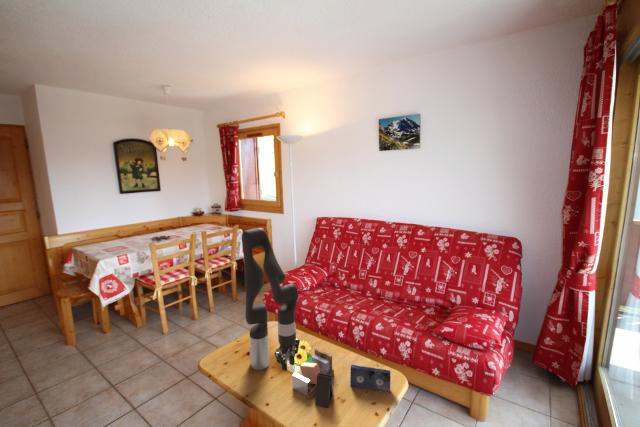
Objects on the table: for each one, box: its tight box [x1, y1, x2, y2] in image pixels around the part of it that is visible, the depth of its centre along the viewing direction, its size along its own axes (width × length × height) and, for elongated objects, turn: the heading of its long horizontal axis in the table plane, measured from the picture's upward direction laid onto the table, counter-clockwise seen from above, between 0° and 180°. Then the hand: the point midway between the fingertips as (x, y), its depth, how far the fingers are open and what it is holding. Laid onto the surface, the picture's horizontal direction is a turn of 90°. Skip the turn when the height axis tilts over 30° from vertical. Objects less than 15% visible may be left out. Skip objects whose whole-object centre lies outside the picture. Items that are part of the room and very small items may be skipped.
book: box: [299, 361, 320, 385], centre depth 145 cm, size 4×9×8 cm, turn 53°
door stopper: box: [314, 373, 334, 408], centre depth 135 cm, size 9×6×12 cm, turn 163°
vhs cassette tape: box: [349, 364, 391, 393], centre depth 141 cm, size 18×3×10 cm, turn 74°
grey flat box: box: [292, 372, 311, 397], centre depth 140 cm, size 9×2×7 cm, turn 53°
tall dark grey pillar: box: [306, 348, 335, 400], centre depth 146 cm, size 11×20×10 cm, turn 143°
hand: (288, 367), depth 132 cm, fingers open, 4 cm apart
